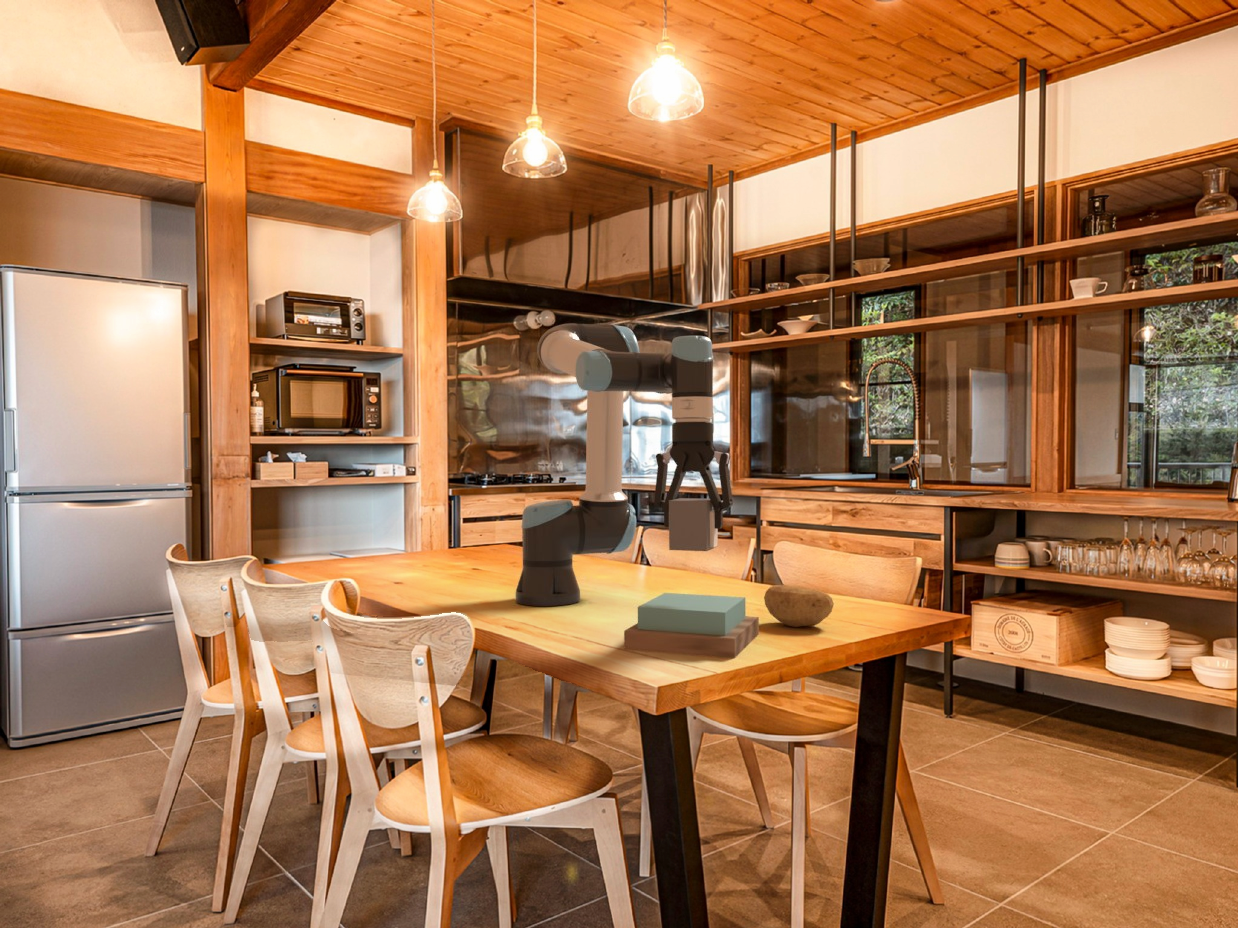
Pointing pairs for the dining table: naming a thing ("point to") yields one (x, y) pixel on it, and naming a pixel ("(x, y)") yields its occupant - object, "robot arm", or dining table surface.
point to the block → (689, 524)
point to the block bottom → (694, 640)
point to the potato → (798, 605)
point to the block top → (692, 613)
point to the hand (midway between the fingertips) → (693, 545)
